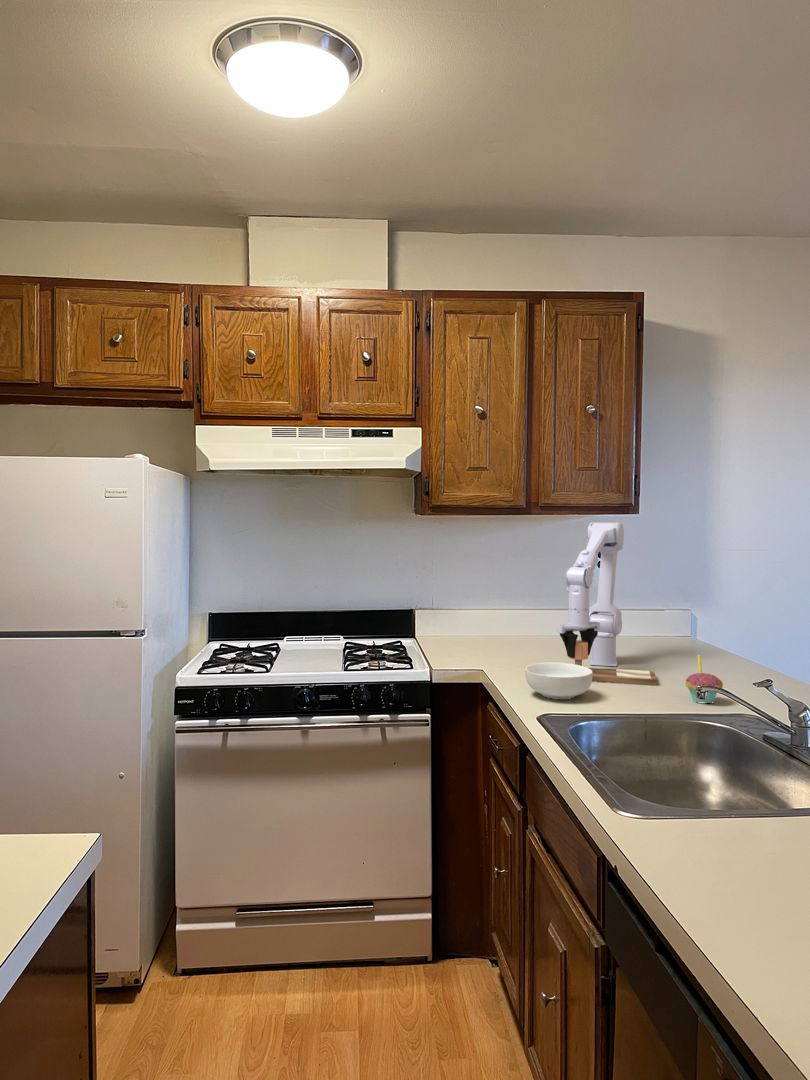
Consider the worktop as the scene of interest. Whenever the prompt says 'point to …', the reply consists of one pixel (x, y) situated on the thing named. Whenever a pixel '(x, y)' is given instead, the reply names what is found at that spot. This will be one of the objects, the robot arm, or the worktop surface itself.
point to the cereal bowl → (558, 679)
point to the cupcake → (703, 684)
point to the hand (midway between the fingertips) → (578, 656)
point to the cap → (581, 650)
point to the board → (622, 675)
